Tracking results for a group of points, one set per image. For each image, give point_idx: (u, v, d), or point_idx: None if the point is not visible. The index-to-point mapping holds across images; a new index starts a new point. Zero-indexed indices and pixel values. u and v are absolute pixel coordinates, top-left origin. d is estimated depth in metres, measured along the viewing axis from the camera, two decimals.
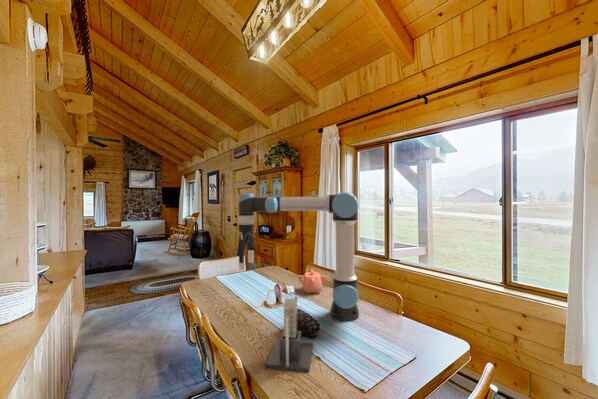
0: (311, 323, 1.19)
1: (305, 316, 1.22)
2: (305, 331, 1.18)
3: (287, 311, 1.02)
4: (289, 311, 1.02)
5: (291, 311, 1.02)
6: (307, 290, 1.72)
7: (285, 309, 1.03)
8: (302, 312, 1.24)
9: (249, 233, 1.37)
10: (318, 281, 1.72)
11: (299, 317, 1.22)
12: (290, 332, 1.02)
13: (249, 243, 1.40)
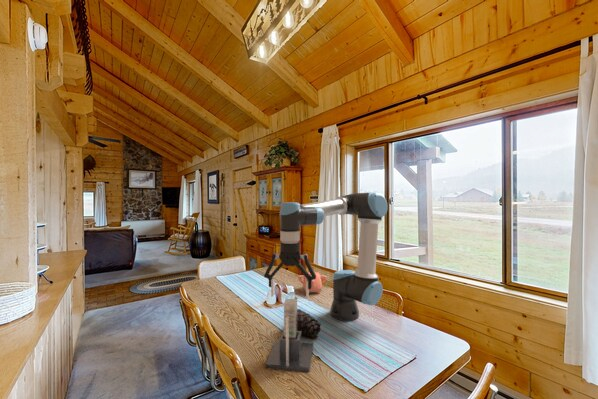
0: (312, 323, 1.19)
1: (305, 316, 1.21)
2: (306, 332, 1.18)
3: (287, 311, 1.02)
4: (289, 311, 1.02)
5: (291, 311, 1.02)
6: None
7: (285, 309, 1.03)
8: (302, 312, 1.24)
9: (293, 255, 1.03)
10: (318, 281, 1.72)
11: (299, 318, 1.21)
12: (290, 332, 1.02)
13: None
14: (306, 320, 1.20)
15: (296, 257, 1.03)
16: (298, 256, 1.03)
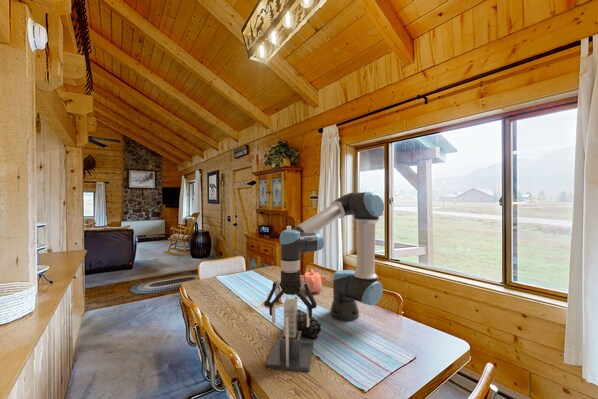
0: (312, 324, 1.18)
1: (306, 317, 1.21)
2: (306, 332, 1.18)
3: (287, 311, 1.02)
4: (289, 311, 1.02)
5: (291, 311, 1.02)
6: None
7: (285, 309, 1.03)
8: (302, 313, 1.23)
9: (294, 284, 1.03)
10: (318, 281, 1.72)
11: (300, 318, 1.21)
12: (290, 332, 1.02)
13: None
14: (306, 320, 1.19)
15: (296, 286, 1.03)
16: (298, 285, 1.03)
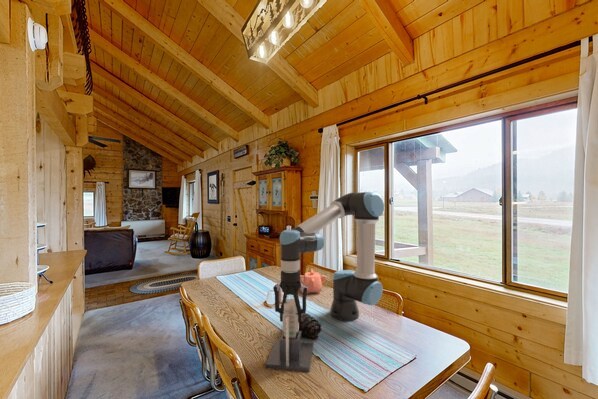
0: (312, 324, 1.18)
1: (306, 317, 1.21)
2: (306, 332, 1.17)
3: (287, 311, 1.02)
4: (289, 311, 1.02)
5: (291, 311, 1.02)
6: (307, 290, 1.72)
7: (285, 309, 1.03)
8: (303, 313, 1.23)
9: (295, 282, 1.03)
10: (318, 281, 1.72)
11: None
12: (290, 332, 1.02)
13: None
14: (307, 320, 1.19)
15: (297, 285, 1.03)
16: (299, 285, 1.03)
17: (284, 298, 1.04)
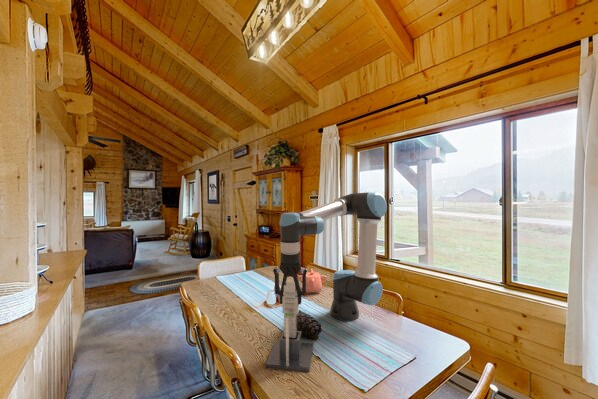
0: (313, 324, 1.18)
1: (306, 317, 1.20)
2: (307, 332, 1.17)
3: (287, 293, 1.02)
4: (289, 293, 1.02)
5: (291, 293, 1.02)
6: (307, 290, 1.72)
7: (285, 291, 1.03)
8: (303, 313, 1.23)
9: (295, 264, 1.03)
10: (318, 281, 1.72)
11: (300, 319, 1.20)
12: (290, 314, 1.02)
13: None
14: (307, 321, 1.19)
15: (296, 267, 1.03)
16: (299, 267, 1.03)
17: (284, 280, 1.04)
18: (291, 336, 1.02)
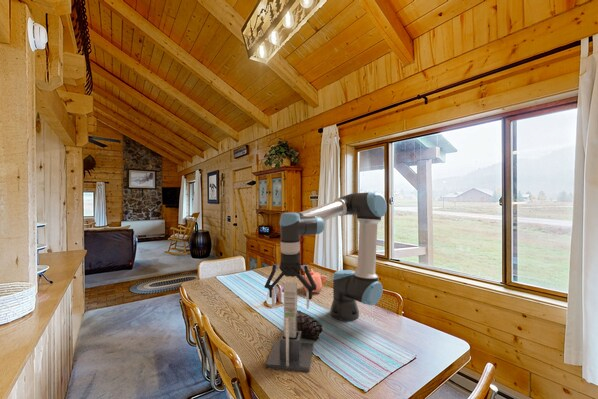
0: (313, 325, 1.18)
1: (307, 318, 1.20)
2: (307, 333, 1.17)
3: (287, 293, 1.02)
4: (289, 293, 1.02)
5: (291, 293, 1.02)
6: None
7: (285, 291, 1.03)
8: (303, 314, 1.22)
9: (293, 266, 1.03)
10: (318, 281, 1.72)
11: (301, 319, 1.20)
12: (290, 314, 1.02)
13: None
14: (307, 321, 1.18)
15: (296, 268, 1.03)
16: (298, 267, 1.03)
17: (279, 277, 1.04)
18: (291, 336, 1.02)
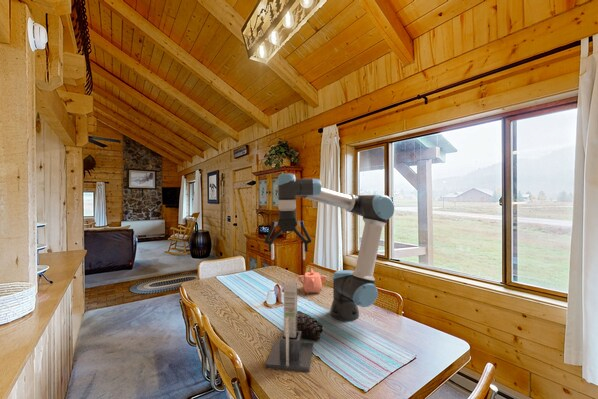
0: (314, 325, 1.17)
1: (307, 318, 1.20)
2: (308, 333, 1.16)
3: (287, 293, 1.02)
4: (289, 293, 1.02)
5: (291, 293, 1.02)
6: (307, 290, 1.72)
7: (285, 291, 1.03)
8: (303, 314, 1.22)
9: (290, 221, 1.14)
10: (318, 281, 1.72)
11: (301, 319, 1.19)
12: (290, 314, 1.02)
13: (297, 234, 1.15)
14: (308, 322, 1.18)
15: (293, 223, 1.14)
16: (295, 222, 1.14)
17: (278, 233, 1.14)
18: (291, 336, 1.02)
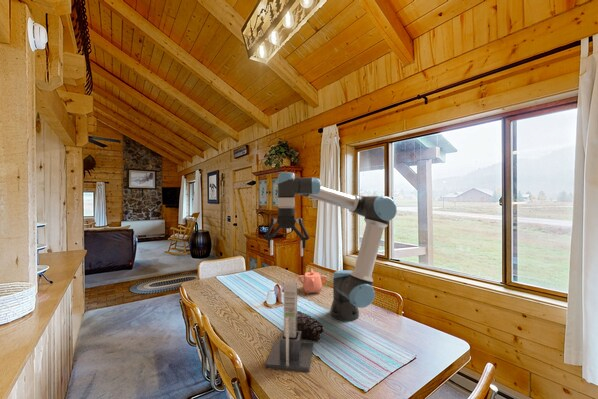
0: (314, 325, 1.17)
1: (307, 318, 1.19)
2: (309, 334, 1.16)
3: (287, 293, 1.02)
4: (289, 293, 1.02)
5: (291, 293, 1.02)
6: (307, 290, 1.72)
7: (285, 291, 1.03)
8: (304, 314, 1.22)
9: (289, 219, 1.18)
10: (318, 281, 1.72)
11: (301, 320, 1.19)
12: (290, 314, 1.02)
13: None
14: (308, 322, 1.18)
15: (292, 220, 1.17)
16: (293, 219, 1.17)
17: (277, 229, 1.18)
18: (291, 336, 1.02)
